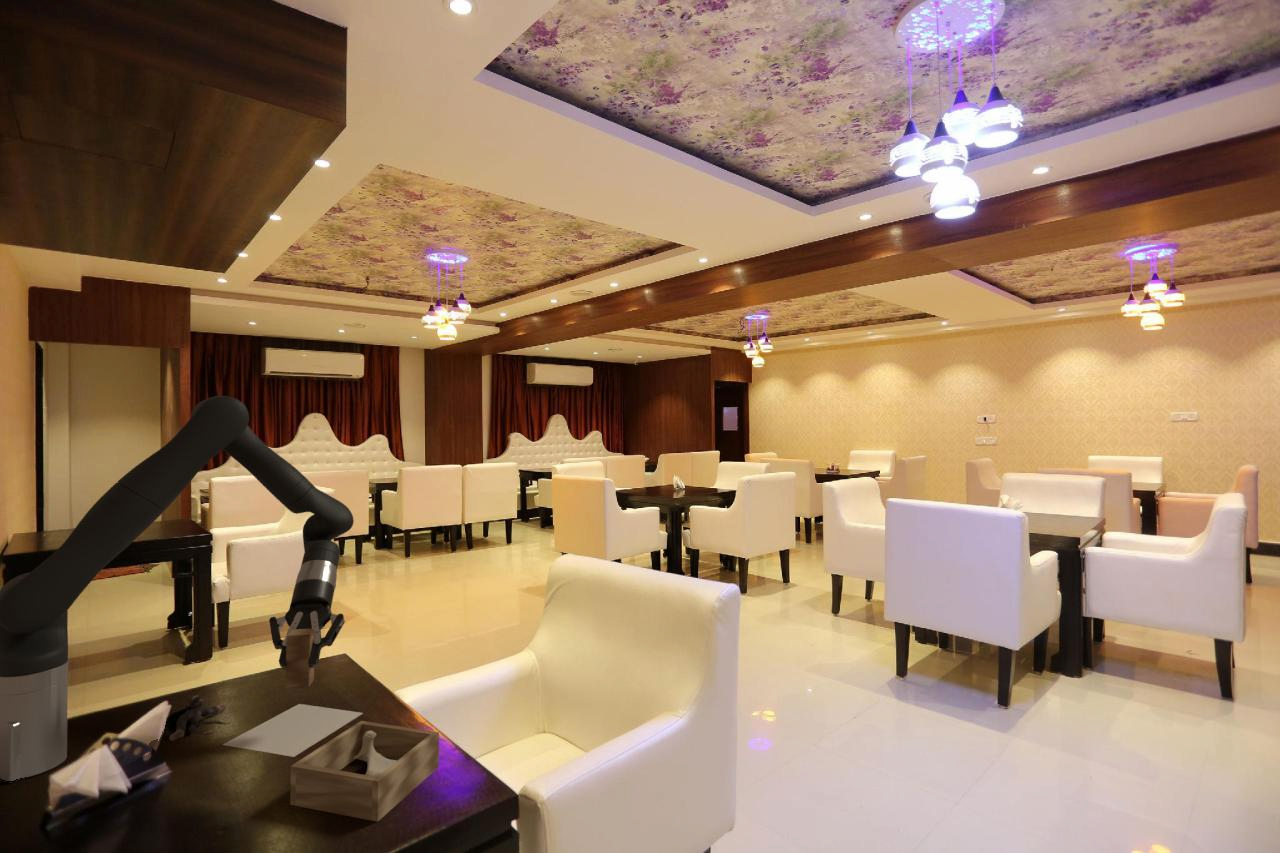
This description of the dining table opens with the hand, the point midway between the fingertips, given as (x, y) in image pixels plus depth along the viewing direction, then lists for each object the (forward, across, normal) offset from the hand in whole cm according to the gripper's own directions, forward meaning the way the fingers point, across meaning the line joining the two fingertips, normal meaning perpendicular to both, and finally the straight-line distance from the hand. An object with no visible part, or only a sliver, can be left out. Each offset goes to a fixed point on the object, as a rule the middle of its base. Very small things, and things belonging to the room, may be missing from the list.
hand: (297, 666), depth 119 cm
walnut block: (+2, 0, +4) cm, 5 cm away
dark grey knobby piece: (+2, -21, +19) cm, 28 cm away
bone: (+24, +18, -4) cm, 30 cm away
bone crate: (+24, +16, -4) cm, 29 cm away
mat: (+7, -1, +12) cm, 14 cm away
